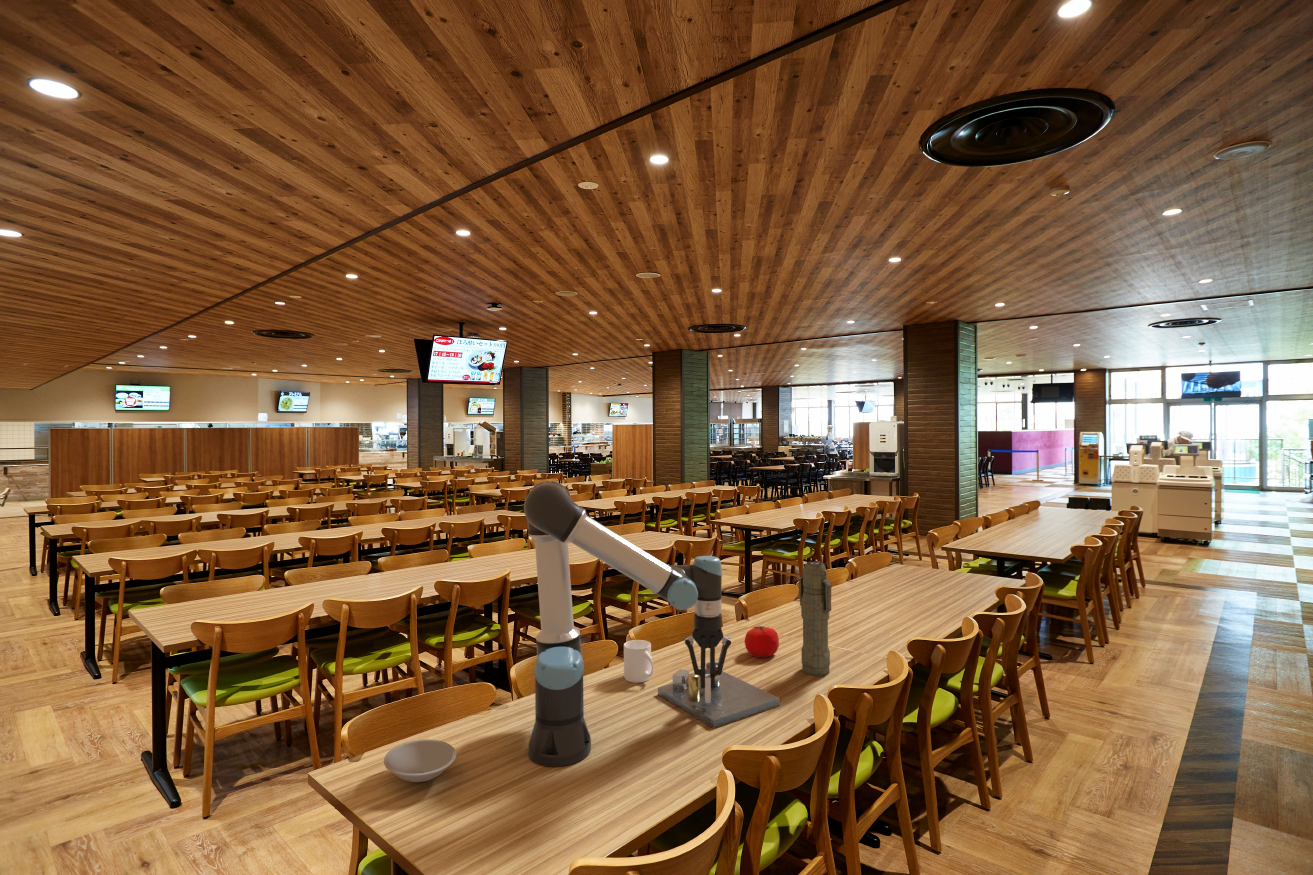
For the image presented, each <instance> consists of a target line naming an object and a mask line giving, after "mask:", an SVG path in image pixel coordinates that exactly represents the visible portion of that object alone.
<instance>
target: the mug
mask: <svg viewBox="0 0 1313 875" xmlns="http://www.w3.org/2000/svg"><path fill="white" fill-rule="evenodd" d="M653 663H654V662H653V658H652V643H651V642H650V641H648V640H643V639H633V640H628V641H626V642H625V643H623V676H624V679H625V681H627V682H630V683H634V684H635V683H636V684H638V683H644V682H647V681H649V680H650V679H651V677H652V676H653V673H654V664H653Z"/></svg>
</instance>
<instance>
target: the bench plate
mask: <svg viewBox="0 0 1313 875" xmlns="http://www.w3.org/2000/svg"><path fill="white" fill-rule="evenodd" d="M689 674H690V670H686V669H682V668H680V669H678V670H677V671H675V672H674V673H673V674H672V683H669V684H667V685H663V686H659V687H657V695H658V696H660V697H661V698H662V699H664V700H666V701H668V702H669V703H671V704H673V705H675V706H676V707H678V708H679V709H681V710H683V711H685V712H686V713H687V714H690V715H691V716H693V717H695V718H696V719H698V720H700V721H701V722H703V723H704V724H705V725H707V726H709V727H711V728H713V729H717V728H718V727H721V726H724V725H725V726H726V725H727V724H730V723H733V722H736V721H739V720H741V719H742V720H743V719H744V718H747V717H750V716H753V715H756V714H758V713H762V712H764V711H767V710H770V709H773V708H776V707H778V706H780V705H781V704H780V702H781V700H780V697H778V696H776V695H774V694H772V693H769V692H767V691H766V690H764V689H761V688H759V687H758V686H755V685H753V684H750V683H749V682H746V681H744V680H742V679H740V678H738V677H736V676H734V675H731V674H729V673H728V672H726V671H723V670H722V673H721V675H717V676H715V687H714V689H712V688H711V702H705V688H703V689H701V688H699V691H700V701H698V702H690V701H689V688H688V687H687V685H686V678H687V677H688V676H689Z"/></svg>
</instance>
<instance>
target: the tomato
mask: <svg viewBox="0 0 1313 875" xmlns="http://www.w3.org/2000/svg"><path fill="white" fill-rule="evenodd" d="M770 627H771V626H763V625H758V626H754V627H752V628H751V629H749V630H748V631H747V632H746V634H745V636H744V637H745V638H744V645H745V646H744V647H745V649H746V650H747V652H748V653H749V654H750V655H751V656H753V657H757V658H768V657H771V656H773V655H775V654H776V653H777V651H778V649H779V646H780V642H779V641H780V640H779V639H780V638H779V634H778V632H777V631H776V630H775V629H774V628H770Z"/></svg>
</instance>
